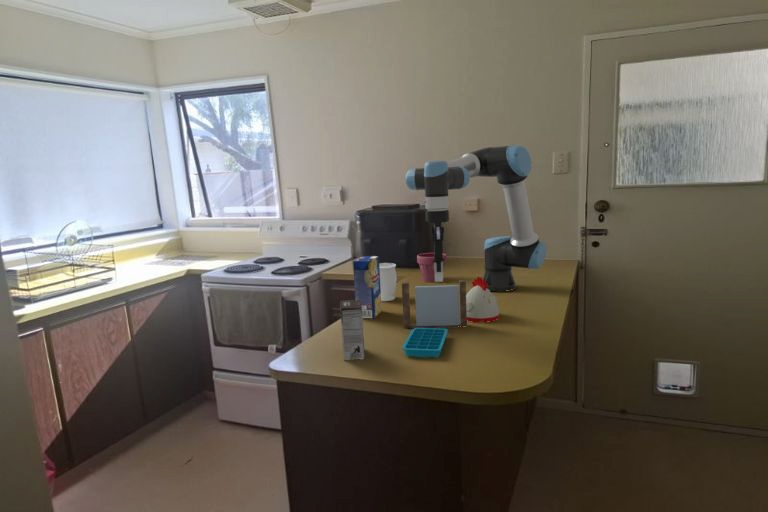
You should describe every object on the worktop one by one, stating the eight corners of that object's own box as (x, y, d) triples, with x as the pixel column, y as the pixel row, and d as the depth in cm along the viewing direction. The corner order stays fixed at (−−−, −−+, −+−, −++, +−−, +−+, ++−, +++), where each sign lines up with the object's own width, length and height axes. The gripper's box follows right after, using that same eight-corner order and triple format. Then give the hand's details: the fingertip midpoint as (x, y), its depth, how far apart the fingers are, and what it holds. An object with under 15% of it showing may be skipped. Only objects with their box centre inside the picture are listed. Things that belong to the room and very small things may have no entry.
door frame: (465, 323, 179) (465, 279, 176) (467, 327, 175) (466, 282, 172) (403, 325, 180) (402, 281, 178) (403, 328, 177) (401, 284, 174)
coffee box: (343, 350, 158) (340, 300, 156) (363, 348, 159) (361, 298, 156) (343, 361, 149) (340, 308, 147) (365, 359, 150) (362, 306, 147)
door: (459, 322, 179) (458, 284, 177) (459, 325, 176) (458, 286, 174) (416, 323, 180) (415, 285, 178) (416, 326, 178) (415, 287, 175)
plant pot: (439, 275, 259) (438, 251, 257) (451, 281, 246) (451, 255, 244) (413, 279, 255) (412, 254, 253) (424, 284, 242) (423, 258, 239)
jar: (395, 302, 212) (393, 267, 209) (371, 302, 214) (369, 267, 212) (399, 296, 222) (397, 262, 220) (376, 296, 224) (374, 262, 222)
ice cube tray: (401, 358, 150) (401, 349, 150) (413, 336, 169) (413, 327, 169) (440, 360, 147) (440, 350, 147) (448, 337, 167) (448, 328, 166)
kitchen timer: (476, 325, 177) (475, 283, 174) (453, 316, 189) (452, 276, 187) (507, 318, 183) (507, 277, 181) (483, 309, 195) (482, 271, 193)
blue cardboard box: (381, 310, 200) (378, 256, 197) (373, 319, 190) (370, 261, 186) (365, 310, 202) (362, 256, 198) (356, 318, 192) (352, 261, 188)
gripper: (425, 208, 170) (427, 277, 174) (425, 211, 158) (427, 285, 161) (447, 207, 170) (449, 276, 174) (449, 210, 157) (451, 285, 161)
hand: (439, 281), depth 168 cm, fingers closed
